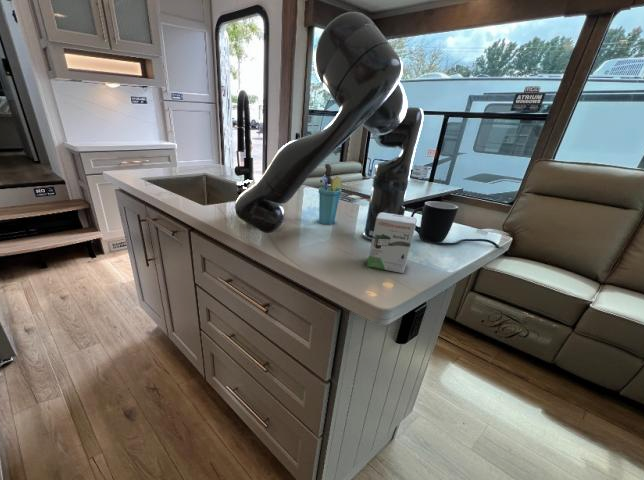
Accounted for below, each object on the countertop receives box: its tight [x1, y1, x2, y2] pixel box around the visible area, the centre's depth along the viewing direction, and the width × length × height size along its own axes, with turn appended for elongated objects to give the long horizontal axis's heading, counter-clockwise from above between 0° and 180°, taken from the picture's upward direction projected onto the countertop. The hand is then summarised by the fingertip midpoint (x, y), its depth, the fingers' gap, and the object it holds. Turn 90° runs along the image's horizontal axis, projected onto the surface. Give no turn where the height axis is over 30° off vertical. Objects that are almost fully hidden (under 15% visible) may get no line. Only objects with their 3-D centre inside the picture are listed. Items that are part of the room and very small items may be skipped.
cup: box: [318, 176, 343, 225], centre depth 102 cm, size 14×8×15 cm, turn 151°
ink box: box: [366, 213, 418, 274], centre depth 72 cm, size 9×5×12 cm, turn 69°
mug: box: [410, 200, 459, 243], centre depth 93 cm, size 12×9×10 cm
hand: (262, 183), depth 96 cm, fingers open, 8 cm apart
